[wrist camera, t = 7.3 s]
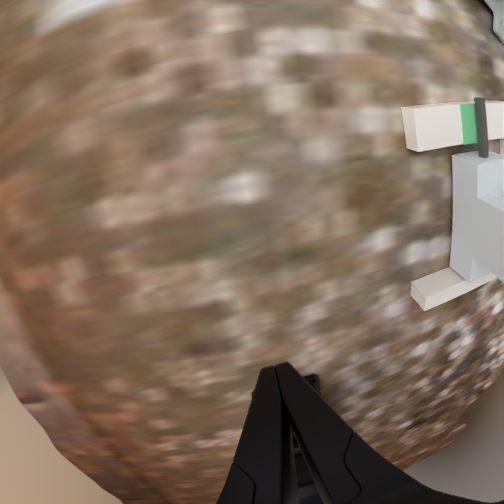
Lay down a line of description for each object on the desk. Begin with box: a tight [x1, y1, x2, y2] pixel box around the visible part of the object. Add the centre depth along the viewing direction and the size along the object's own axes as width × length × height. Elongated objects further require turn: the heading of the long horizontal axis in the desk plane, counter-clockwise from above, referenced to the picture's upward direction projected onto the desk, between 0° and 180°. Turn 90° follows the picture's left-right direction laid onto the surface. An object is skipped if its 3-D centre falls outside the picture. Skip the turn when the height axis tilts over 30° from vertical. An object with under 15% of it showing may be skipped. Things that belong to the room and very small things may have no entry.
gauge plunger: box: [450, 98, 504, 283], centre depth 17 cm, size 14×4×8 cm, turn 14°
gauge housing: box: [401, 100, 504, 311], centre depth 20 cm, size 16×14×5 cm
